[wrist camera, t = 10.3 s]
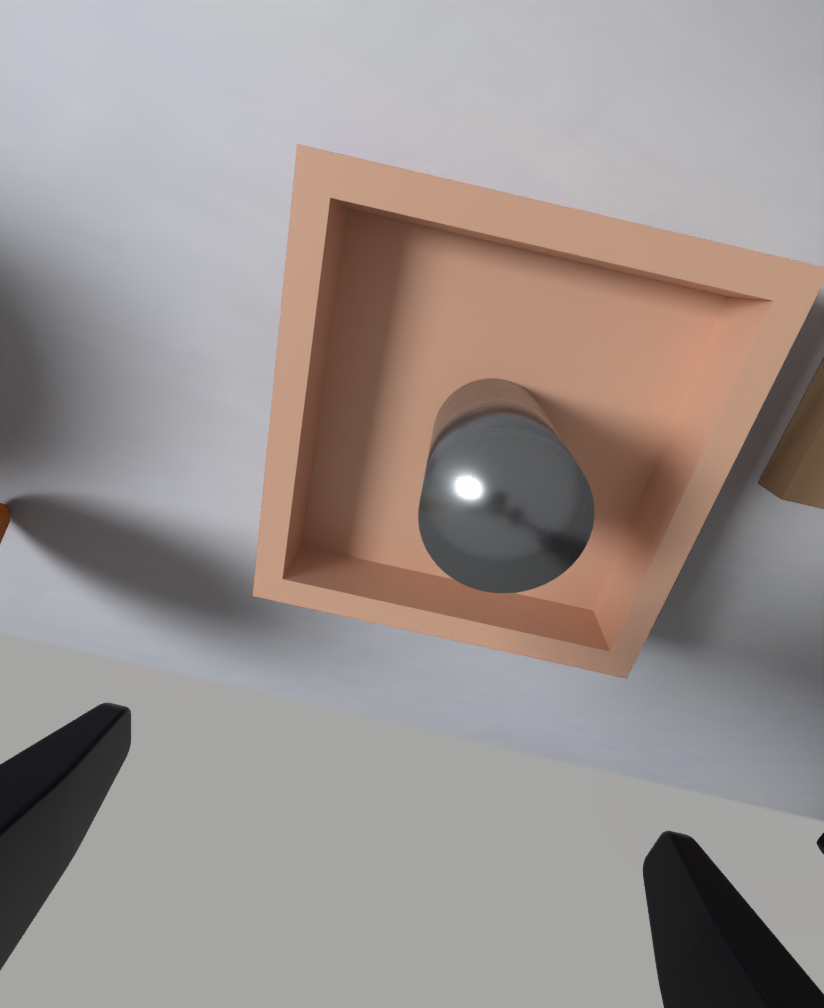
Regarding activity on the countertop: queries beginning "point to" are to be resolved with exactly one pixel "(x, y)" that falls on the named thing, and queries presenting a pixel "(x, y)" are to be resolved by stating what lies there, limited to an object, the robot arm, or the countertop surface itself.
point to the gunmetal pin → (502, 491)
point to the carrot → (3, 520)
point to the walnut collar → (801, 451)
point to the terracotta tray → (517, 358)
